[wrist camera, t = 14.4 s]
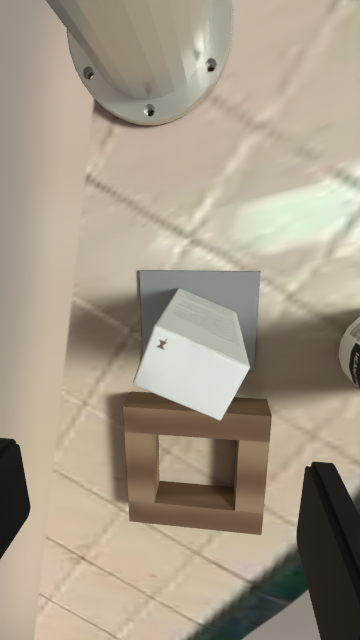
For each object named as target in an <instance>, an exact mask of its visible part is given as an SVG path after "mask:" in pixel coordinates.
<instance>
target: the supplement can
mask: <svg viewBox="0 0 360 640" xmlns="http://www.w3.org/2000/svg"><path fill="white" fill-rule="evenodd" d="M338 357H339V360H340V364H341V367H342V370H343V372H344V373H345V374H346V375H347V376H348V378H349V379H350V380H351V381H352V382H353V384H354V385H355V386H356V387H357V388H358V389H359V390H360V316H359V317H358V318H357V319H356V320H355V321H354V322H353V323H352V324H351V325H350V326H349V327H348V328H347V330H346V332H345V334H344V336H343V337H342V339H341V341H340V348H339V356H338Z"/></svg>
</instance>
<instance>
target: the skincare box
mask: <svg viewBox="0 0 360 640" xmlns="http://www.w3.org/2000/svg"><path fill="white" fill-rule="evenodd" d="M249 368H250V365H249V361H248V358H247V354H246V350H245V346H244V342H243V338H242V334H241V329H240V325H239V321H238V317H237V313H236V312H234V311H232V310H229V309H227V308H225V307H222V306H220V305H218V304H215V303H213V302H211V301H208V300H206V299H204V298H201V297H199V296H197V295H194V294H192V293H189V292H187V291H185V290H182V289H180V288H179V289H178V290H177V291H176V293H175V295H174V296H173V298H172V299H171V301H170V302H169V304H168V305H167V307H166V309H165V310H164V312H163V313H162V315H161V317H160V318H159V320H158V321H157V323H156V324H155V325H154V327H153V330H152V333H151V335H150V338H149V341H148V343H147V346H146V349H145V351H144V354H143V357H142V359H141V362H140V365H139V367H138V370H137V373H136V375H135V378H134V381H133V384H134V385H135V386H138V387H140V388H142V389H145V390H147V391H150V392H152V393H154V394H157V395H159V396H162V397H164V398H167V399H169V400H171V401H174V402H176V403H179V404H181V405H184V406H186V407H189V408H191V409H193V410H196V411H198V412H201V413H203V414H206V415H208V416H210V417H213V418H215V419H217V420H221V419H222V417H223V416H224V414H225V412H226V410H227V408H228V407H229V405H230V403H231V401H232V399H233V398H234V396H235V394H236V392H237V390H238V389H239V387H240V385H241V383H242V381H243V380H244V378H245V376H246V374H247V372H248V370H249Z"/></svg>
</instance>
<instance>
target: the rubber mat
mask: <svg viewBox="0 0 360 640" xmlns="http://www.w3.org/2000/svg"><path fill="white" fill-rule="evenodd" d="M139 272H140V298H141V324H142V350H143V354H144V351H145V349H146V346H147V343H148V341H149V338H150V335H151V333H152V330H153V327H154V325H155V324H156V323H157V321H158V320H159V318H160V317H161V315H162V313H163V312H164V310H165V309H166V307H167V305H168V304H169V302H170V301H171V299H172V298H173V296H174V295H175V293H176V291H177V290H178V289H179V288H180V289H182V290H185V291H187V292H189V293H192V294H194V295H197V296H199V297H201V298H204V299H206V300H208V301H211V302H213V303H215V304H218V305H220V306H222V307H225V308H227V309H229V310H232V311H234V312H236V313H237V317H238V321H239V325H240V329H241V334H242V338H243V342H244V346H245V350H246V354H247V358H248V361H249V365H250V368H249V370H248V371H254V362H255V347H256V332H257V317H258V301H259V286H260V271H165V270H140V271H139Z"/></svg>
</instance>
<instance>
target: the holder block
mask: <svg viewBox="0 0 360 640" xmlns="http://www.w3.org/2000/svg"><path fill="white" fill-rule="evenodd" d="M123 418H124V435H125V451H126V468H127V485H128V501H129V518H130V521H133V522H142V523H152V524H161V525H171V526H180V527H190V528H199V529H209V530H218V531H228V532H237V533H247V534H256V535H261V533H262V522H263V510H264V499H265V487H266V475H267V464H268V452H269V441H270V429H271V418H272V416H271V412H270V409H269V405H268V402H267V399H251V398H233V399H232V401H231V403H230V405H229V407H228V408H227V410H226V412H225V414H224V416H223V417H222V419H221V420H217V419H215V418H213V417H210V416H208V415H206V414H203V413H201V412H198V411H196V410H193V409H191V408H189V407H186V406H184V405H181V404H179V403H176V402H174V401H171V400H169V399H167V398H164V397H162V396H159V395H157V394H154V393H144V392H131V393H130V395H129V397H128V398H127V400H126V402H125V404H124V406H123ZM158 434H159V435H173V436H187V437H201V438H215V439H229V440H236V455H235V474H234V488H230V487H219V486H208V485H197V484H186V483H174V482H163V481H159V443H158Z"/></svg>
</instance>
